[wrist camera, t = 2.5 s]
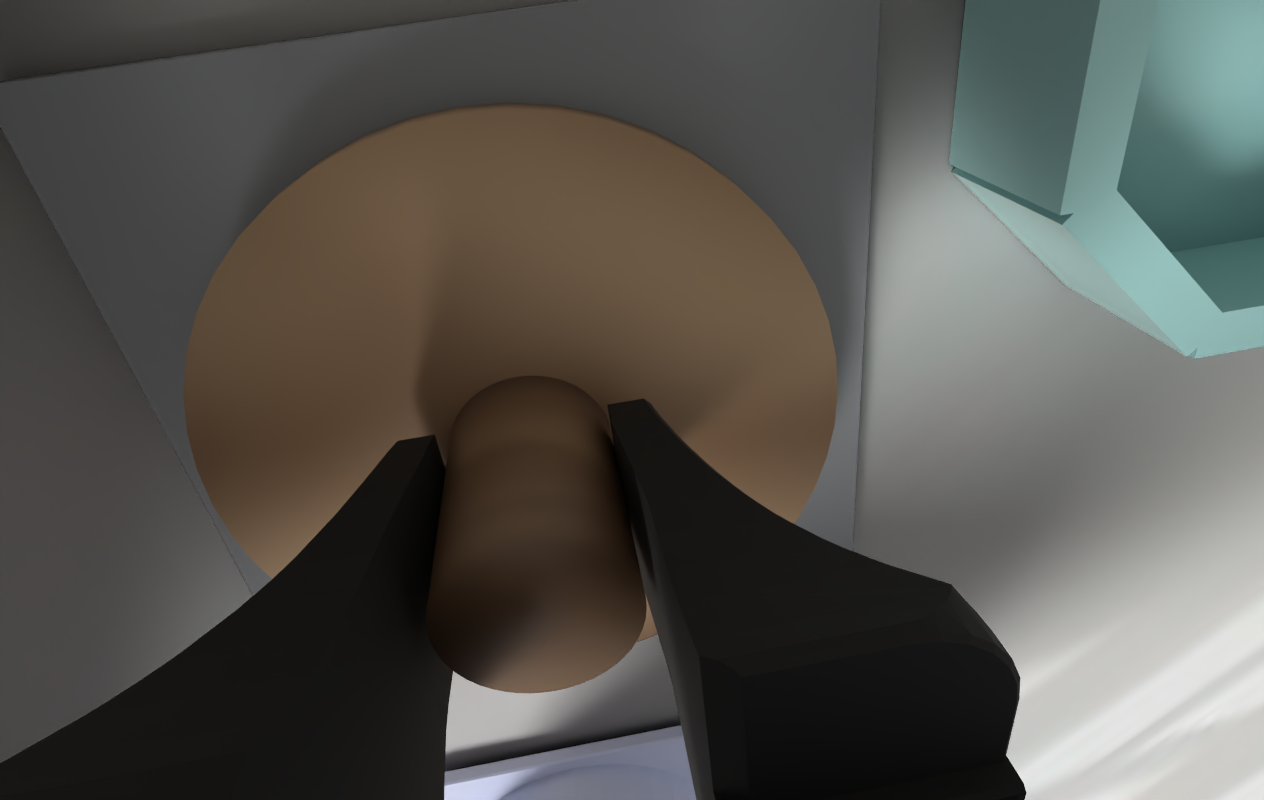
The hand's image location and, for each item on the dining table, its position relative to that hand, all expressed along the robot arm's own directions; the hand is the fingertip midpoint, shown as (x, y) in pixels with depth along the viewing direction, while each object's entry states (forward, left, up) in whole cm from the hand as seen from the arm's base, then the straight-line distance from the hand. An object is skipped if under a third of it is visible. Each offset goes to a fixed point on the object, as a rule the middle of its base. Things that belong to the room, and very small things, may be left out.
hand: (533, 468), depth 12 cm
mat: (0, 0, -3) cm, 3 cm away
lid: (0, 0, -2) cm, 2 cm away
